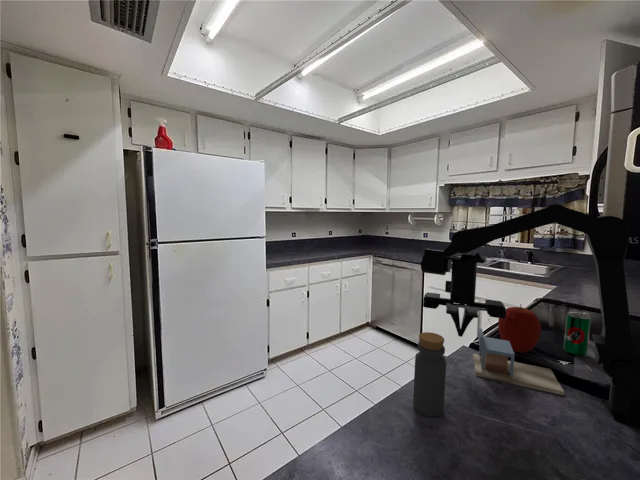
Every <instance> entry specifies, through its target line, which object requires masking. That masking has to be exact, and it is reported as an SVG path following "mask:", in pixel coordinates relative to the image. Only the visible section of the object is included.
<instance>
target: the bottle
mask: <svg viewBox="0 0 640 480" xmlns="http://www.w3.org/2000/svg"><path fill="white" fill-rule="evenodd" d="M418 337H419V341H418V343H417V350H418V352H417V353H416V354H415V357H414V374H413V375H414V376H413V377H414V378H413V400H412V403H413V407H414V409H415V410H416V411H417V412H418V413H420V414H422V415H424V416H427V417H430V418H432V417H433V418H434V417H435V418H437V417H440V416H441V415H442V414H443V413H444V410H445V409H444V408H445V393H446V378H447V377H446V375H447V374H446V372H447V359H446V358H445V357H444V356H443V355H445V353H446V347H445V346H444V343H445V338H444V337H443V336H442V335H441V334H438V333H435V332H429V331H425V332H421V333H420V334H419V335H418Z"/></svg>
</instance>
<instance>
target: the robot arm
mask: <svg viewBox="0 0 640 480" xmlns="http://www.w3.org/2000/svg"><path fill="white" fill-rule="evenodd" d="M550 224H558V225H561V226H564V227H566V228H569V229H572V230H574V231H577V232H580V233H583V234H584V235H585V238H586V242H587V244H588V247H589V249H590V251H591V255H592V257H593V259H594V262H595V268H596V269H595V271H596V279H597V287H598V296H599V298H598V299H599V305H600V313H601V315H600V316H601V323H602V329H601V331H600V334H596V333H591V336H592V339H593V341H594V348H593V354H594V357H595V360H596V363H597V365H601V367H602V369H603V371H604V373H605V374H606V375H607V376H608V377H610V378H611V379H610V380H611V382H610V387H609V388H610V389H609V396H608V400H607V399H603V398H600V403H601V405H602V406H603V407H604V409H605V410H606V411H607V413H608V414H609V415H610V417H611V418H612V419H613V420H614V421H615V422H619V423H622V424H627V425H631V426H635V427H639V428H640V351H639V348H638V346H637V344H636V341H635V339H634V337H633V334H632V328H631V327H632V326H631V317H630V309H629V308H630V307H629V301H628V299H629V298H628V291H627V282H626V274H625V272H626V271H625V264H624V263H625V258H626V254H627V252H628V247H629V241H630V234H631V227H630V225H629V224H628V222H627V221H625V220H624V219H622V218H621V217H618V216H614V215H599V216H596V215H595V216H594V215H592V214H589V213H586V212H583V211H579V210H575V209H572V208H569V207H567V206H565V205H563V204H560V203H554V204H550V205H548V206H546V207H544V208H541V209H538V210H535V211H531V212H528V213H524V214H522V215H519V216H516V217H512V218H509V219H507V220H503V221H500V222H497V223H495V224H491V225H486V226H479V227H471V228H466V229H461V230H457V231H455V232H454V233H453V235H452V236H451V240H450V242H451V243H449V245H447V247H446V248H445V249H444V250H442V249H441V250H440V249H433V248H425V249H424V253H423V255H422V258H421V261H420V269H421V272H422V273H423V274H432V275H438V276H445V275H446V273H450V272H451V276H450V277H451V279H450V280H445V289H444V292H445V293H448V294H449V296H450V297H449V298H446V297H441V294H440V293H437V292H426V293H424V296H423V299H422V307H424V308H425V309H434V310H435V309H438V308H439V306H445V308H446V310H445V313H446V314H447V315H450V316H451V319H452V321H453V323H454V325H455V326H454V327H455V329H456V332H457V335H458V337H461V338H462V337H464V336H463V335H464V334H465V333H466V330H467V328H468V326H469V324H470V323H471V322H472V321H473V320H474V319H478V318H479V314H478V313H479V311H481V312H486V314H487V315H488V316H489V317H491V318H495V319H496V318H497V319H499V318H502V319H504V318H506V309H507V308H506V306H505V305H504V302H503V301H501V300H492V299H485V302H478V301H476V287H477V286H476V285H477V272H478V271H477V270H478V269H477V268H478V264H484V263H486V262H487V258H486V257H484V256H483V255H482V253H481V252H480V251H479V252H477V253H476V254H467V253H470V252H473V251H475V250H476V249H479V248H481V247H483V246H486V245H487V244H490V243H491V242H494V241H495V240H499V239H502V238H506V237H510V236H513V235H516V234H519V233H523V232H527V231H530V230H533V229H537V228H540V227H544V226H548V225H550ZM458 253H460V254H461V256H455V255H456V254H458ZM460 308H462V309H463V317H462V320H460V311H459V310H460Z"/></svg>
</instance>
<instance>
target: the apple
mask: <svg viewBox="0 0 640 480" xmlns="http://www.w3.org/2000/svg"><path fill="white" fill-rule="evenodd" d="M497 319H498V321H497V323H498V324H497V325H498V327H497V330H498V333H499V337H500V340H506V341H509V342H510V344H511V347H512V349H513V351H515V352H520V353H519V354H523V353H526V352H530V351H532V350H533V349H534V347H535V346H536V345H537V343H538V341H539V339H540V337H541V331H542V325H541V323H540V319H539V317H538V316H537V315H536V314H535V313H534V312H533V311H531V310H529V309H528V308H525V307H522V304H520V306H519V307H518V306H511V307H507V308H506V318H504V319H502V318H497ZM515 352H514V353H515Z"/></svg>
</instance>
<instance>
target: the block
mask: <svg viewBox="0 0 640 480" xmlns="http://www.w3.org/2000/svg"><path fill="white" fill-rule="evenodd" d="M508 361H509V357H508V356H503V355H498V354H492V353H487V352H485V365H484V368H485V370H487V371H491V372H496V373H501V374H505V375H507V363H508Z"/></svg>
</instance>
